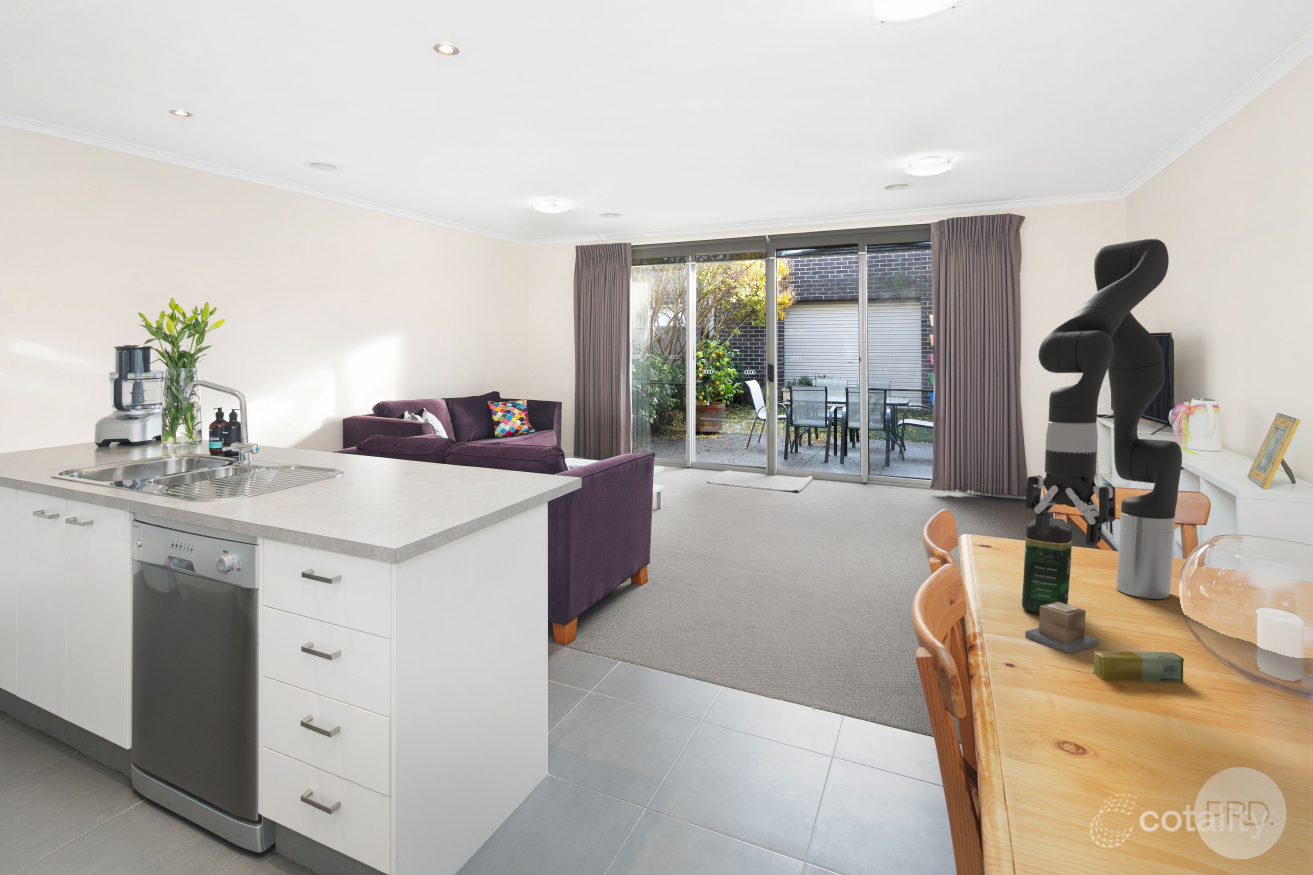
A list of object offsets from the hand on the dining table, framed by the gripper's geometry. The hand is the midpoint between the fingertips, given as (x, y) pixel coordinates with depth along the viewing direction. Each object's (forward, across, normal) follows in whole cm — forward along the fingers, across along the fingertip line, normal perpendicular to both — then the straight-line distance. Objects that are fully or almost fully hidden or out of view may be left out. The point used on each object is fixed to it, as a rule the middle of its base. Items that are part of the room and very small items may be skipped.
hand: (1066, 539), depth 113 cm
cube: (+18, 0, 0) cm, 18 cm away
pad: (+19, 0, 0) cm, 19 cm away
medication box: (+19, -14, +3) cm, 24 cm away
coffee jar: (+19, +11, -12) cm, 25 cm away
